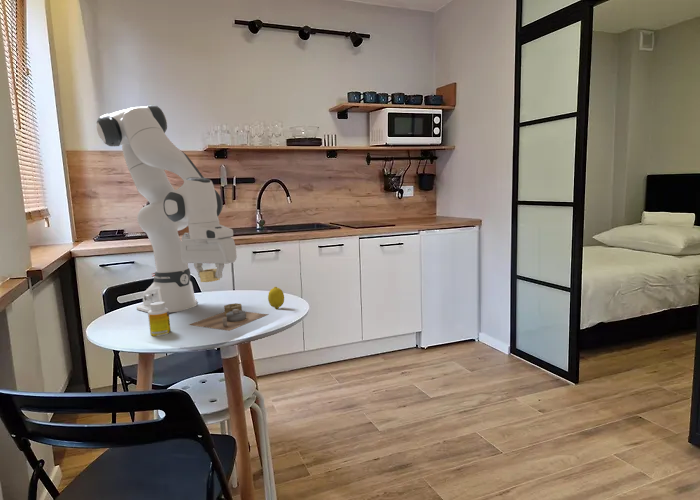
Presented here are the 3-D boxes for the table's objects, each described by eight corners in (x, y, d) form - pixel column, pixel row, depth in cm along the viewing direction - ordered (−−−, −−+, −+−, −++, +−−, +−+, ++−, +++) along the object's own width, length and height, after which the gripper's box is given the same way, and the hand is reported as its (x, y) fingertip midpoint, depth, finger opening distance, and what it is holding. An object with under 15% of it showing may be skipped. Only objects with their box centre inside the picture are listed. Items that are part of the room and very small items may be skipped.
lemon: (281, 311, 156) (280, 288, 155) (266, 311, 157) (264, 288, 156) (287, 307, 162) (285, 284, 161) (272, 307, 163) (270, 285, 162)
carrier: (188, 328, 141) (187, 315, 141) (230, 313, 157) (228, 301, 156) (229, 334, 133) (228, 320, 133) (269, 317, 149) (268, 305, 148)
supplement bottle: (172, 337, 133) (169, 303, 132) (152, 341, 131) (148, 306, 129) (169, 332, 138) (165, 299, 137) (149, 336, 135) (145, 302, 134)
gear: (196, 281, 136) (195, 272, 136) (210, 278, 141) (209, 268, 141) (209, 282, 134) (208, 272, 133) (223, 278, 138) (222, 268, 138)
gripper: (172, 234, 138) (178, 278, 140) (221, 232, 128) (226, 280, 130) (189, 231, 144) (195, 274, 145) (237, 229, 133) (242, 276, 135)
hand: (210, 277), depth 137 cm, fingers closed on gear, 5 cm apart
